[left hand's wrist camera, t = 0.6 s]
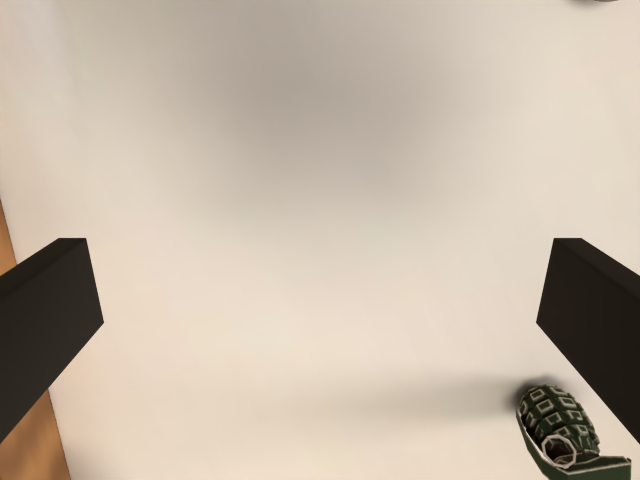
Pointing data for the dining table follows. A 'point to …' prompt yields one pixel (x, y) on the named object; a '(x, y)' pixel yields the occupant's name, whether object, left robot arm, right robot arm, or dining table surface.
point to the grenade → (565, 438)
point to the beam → (30, 419)
